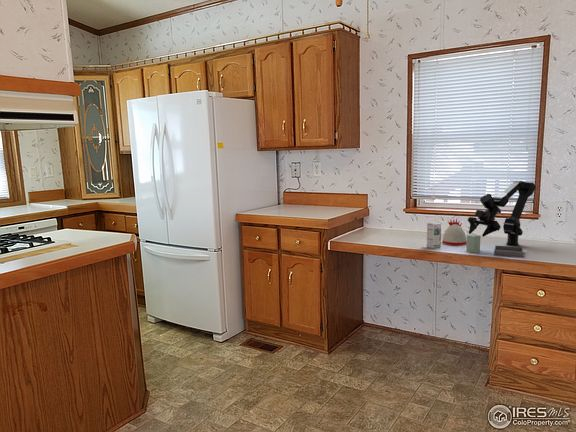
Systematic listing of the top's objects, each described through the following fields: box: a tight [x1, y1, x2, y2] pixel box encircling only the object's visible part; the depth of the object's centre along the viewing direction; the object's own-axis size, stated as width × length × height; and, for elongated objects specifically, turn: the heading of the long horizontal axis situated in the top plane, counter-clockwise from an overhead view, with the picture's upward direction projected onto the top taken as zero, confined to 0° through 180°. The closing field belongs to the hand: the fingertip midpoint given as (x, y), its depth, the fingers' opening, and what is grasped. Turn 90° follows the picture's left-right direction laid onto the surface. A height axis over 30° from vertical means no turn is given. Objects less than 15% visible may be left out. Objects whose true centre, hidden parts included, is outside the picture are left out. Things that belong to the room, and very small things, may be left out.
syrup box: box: [426, 221, 442, 249], centre depth 265 cm, size 6×6×14 cm
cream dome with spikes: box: [442, 218, 467, 246], centre depth 274 cm, size 14×14×15 cm
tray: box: [493, 244, 524, 258], centre depth 246 cm, size 14×14×2 cm
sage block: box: [465, 233, 482, 253], centre depth 253 cm, size 5×5×9 cm
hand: (475, 234), depth 253 cm, fingers open, 9 cm apart
